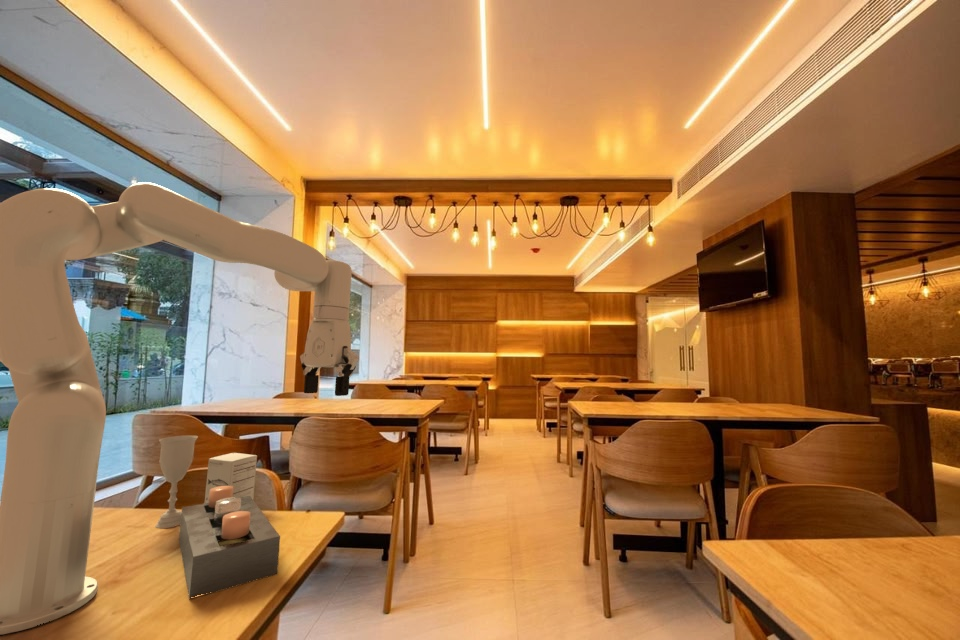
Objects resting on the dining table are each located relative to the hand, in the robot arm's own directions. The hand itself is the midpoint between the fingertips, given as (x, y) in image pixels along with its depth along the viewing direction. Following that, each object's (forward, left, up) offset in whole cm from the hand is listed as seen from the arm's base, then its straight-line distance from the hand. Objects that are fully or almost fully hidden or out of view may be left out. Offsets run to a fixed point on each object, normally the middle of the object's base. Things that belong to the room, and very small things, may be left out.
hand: (325, 394), depth 87 cm
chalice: (-24, +23, -29) cm, 44 cm away
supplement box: (-13, +24, -29) cm, 40 cm away
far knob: (-17, +9, -22) cm, 29 cm away
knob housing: (-17, 0, -29) cm, 33 cm away
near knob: (-17, -9, -22) cm, 29 cm away
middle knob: (-17, 0, -22) cm, 28 cm away
